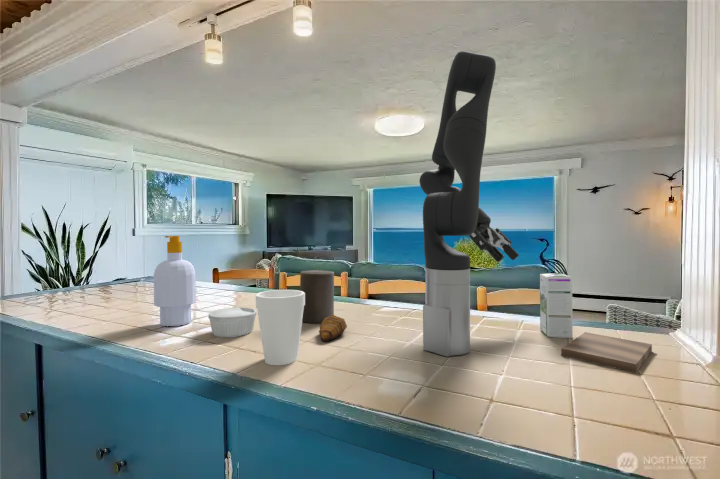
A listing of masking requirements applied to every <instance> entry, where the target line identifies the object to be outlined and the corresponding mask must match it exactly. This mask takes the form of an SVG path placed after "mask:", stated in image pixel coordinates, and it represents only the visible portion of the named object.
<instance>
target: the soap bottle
mask: <svg viewBox="0 0 720 479" xmlns="http://www.w3.org/2000/svg"><path fill="white" fill-rule="evenodd" d="M164 238H166V239H167V238H168V239H169V241H167V242H166V245H167V246H166V248H167V250H166V251H167V252H166V253H167V255H166V256H167V258H166V260H163V261H161V262H160V263H158V264H157V266H156V268H155V269H154V272H153V305H154V307H158V308H159V323H160V326H162V327H165V326H167V328H169V327H168V326H175V327H180V325H182V326H185V325H188V324H189V323H191V321H192V306H191V305H192V304H195V303H197V283H196V282H197V281H196V278H197V277H196V276H197V275H196V270H195V267H194V265H193V264H192V263H191V262H190V261H188V260H186V259H183V241H180V240H181V239H180V235H164Z"/></svg>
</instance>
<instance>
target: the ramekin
mask: <svg viewBox="0 0 720 479" xmlns="http://www.w3.org/2000/svg"><path fill="white" fill-rule="evenodd" d="M207 316H208V317H207V318H208V319H209V322H210V329H211V332H212V334H213V335H214V336H215V337H218V338H223V337H230V338H237V337H238V336H239V337H243V336H246V335H249V334H251V333H252V332H253V330H254V327H255V322H256V321H255V320H256V316H257V309H254V308H250V307H228V308H227V307H226V308H221V309H215V310H213V311H210V312H209V313H208V315H207ZM248 333H249V334H248ZM242 335H243V336H242ZM239 337H238V338H239Z"/></svg>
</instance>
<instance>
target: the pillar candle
mask: <svg viewBox="0 0 720 479" xmlns="http://www.w3.org/2000/svg"><path fill="white" fill-rule="evenodd" d="M315 269H316V270H314V269H313V270H312V269H311V270H301V271H300V276H299V277H300V278H299V281H300V283H299V286H300V287H299V291H303V292H304V293H305V305H304V310H303V318H302V323H307V324H311V325H312V324H321V323H322V322H323V320H324V319H325V318H327V317H329V316H331V315H335V271H330V270H319V269H318V268H317V266H316V267H315Z"/></svg>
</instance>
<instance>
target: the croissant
mask: <svg viewBox="0 0 720 479" xmlns="http://www.w3.org/2000/svg"><path fill="white" fill-rule="evenodd" d="M347 327H348V325H347V323H346V321H345V318H342V317H340V316H337V315H335V314H334V315H331V316H329V317H327V318H325V319H324V320H323V322H322V323H320V325H319V330H318V332H319V336H320V339H321V341H322V342H328V341H332V340H334V339H336V338H338V337H339V336H341V335H343V333H344V332H345V330H346V329H347Z"/></svg>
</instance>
